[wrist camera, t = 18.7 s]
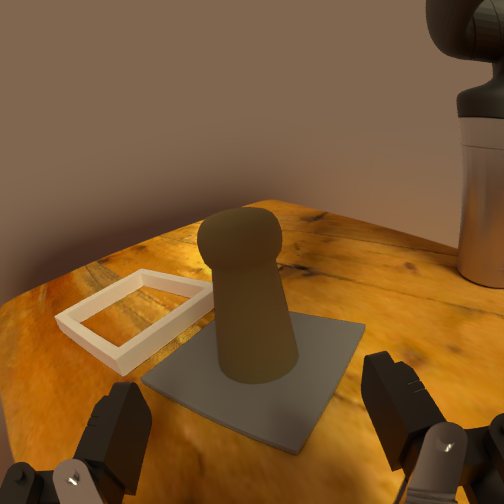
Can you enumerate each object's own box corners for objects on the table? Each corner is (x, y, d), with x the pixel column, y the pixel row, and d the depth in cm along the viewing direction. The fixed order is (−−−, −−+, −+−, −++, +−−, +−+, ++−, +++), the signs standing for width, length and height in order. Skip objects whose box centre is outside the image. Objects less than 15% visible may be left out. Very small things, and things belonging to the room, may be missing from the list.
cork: (310, 339, 23) (300, 198, 19) (278, 393, 18) (257, 226, 14) (243, 328, 26) (221, 201, 22) (203, 371, 21) (164, 226, 17)
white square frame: (145, 280, 40) (141, 268, 39) (225, 299, 32) (222, 284, 32) (60, 329, 29) (54, 316, 29) (123, 376, 22) (115, 359, 21)
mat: (237, 305, 31) (236, 300, 31) (365, 329, 24) (365, 324, 24) (142, 382, 21) (140, 378, 21) (296, 455, 14) (296, 450, 14)
